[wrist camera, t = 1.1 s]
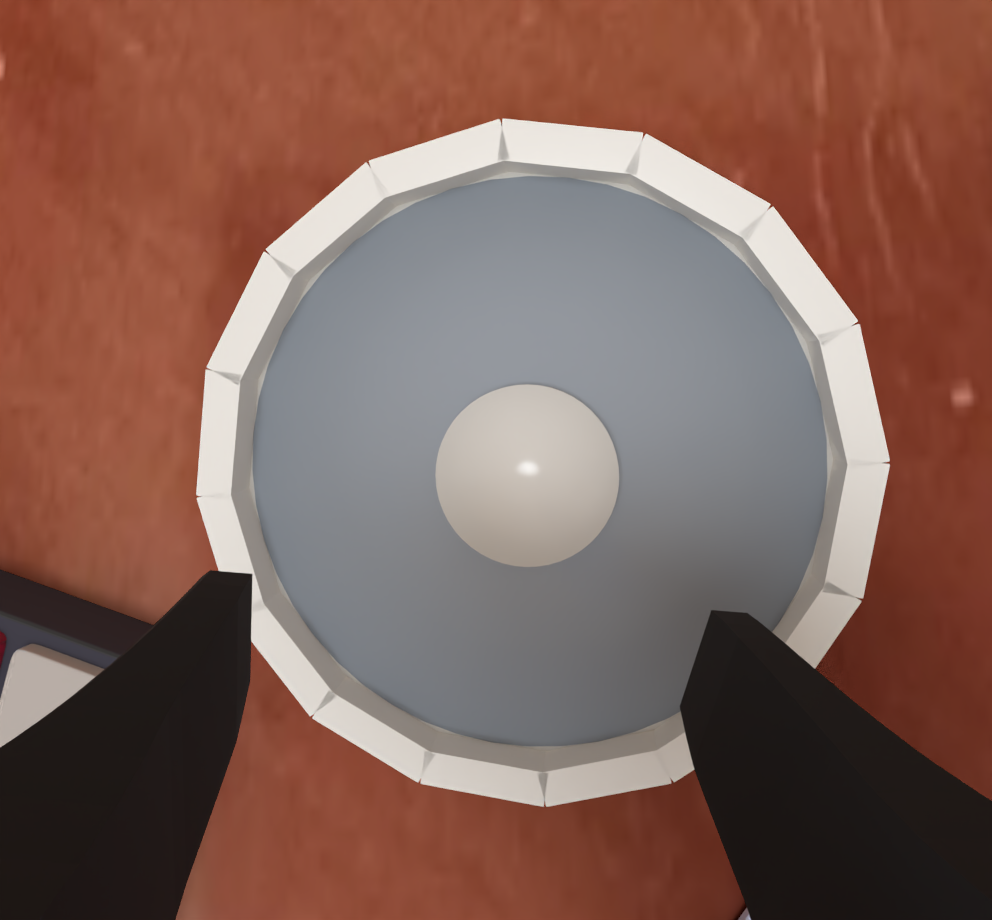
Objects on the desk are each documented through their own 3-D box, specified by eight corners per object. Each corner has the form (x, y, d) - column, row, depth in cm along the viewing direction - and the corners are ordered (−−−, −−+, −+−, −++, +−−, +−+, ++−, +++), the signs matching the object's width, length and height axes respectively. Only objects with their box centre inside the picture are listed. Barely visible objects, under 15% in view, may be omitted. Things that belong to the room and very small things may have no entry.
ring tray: (996, 353, 21) (1034, 353, 19) (637, 877, 24) (641, 918, 22) (409, 20, 22) (393, -10, 20) (132, 570, 25) (96, 587, 23)
